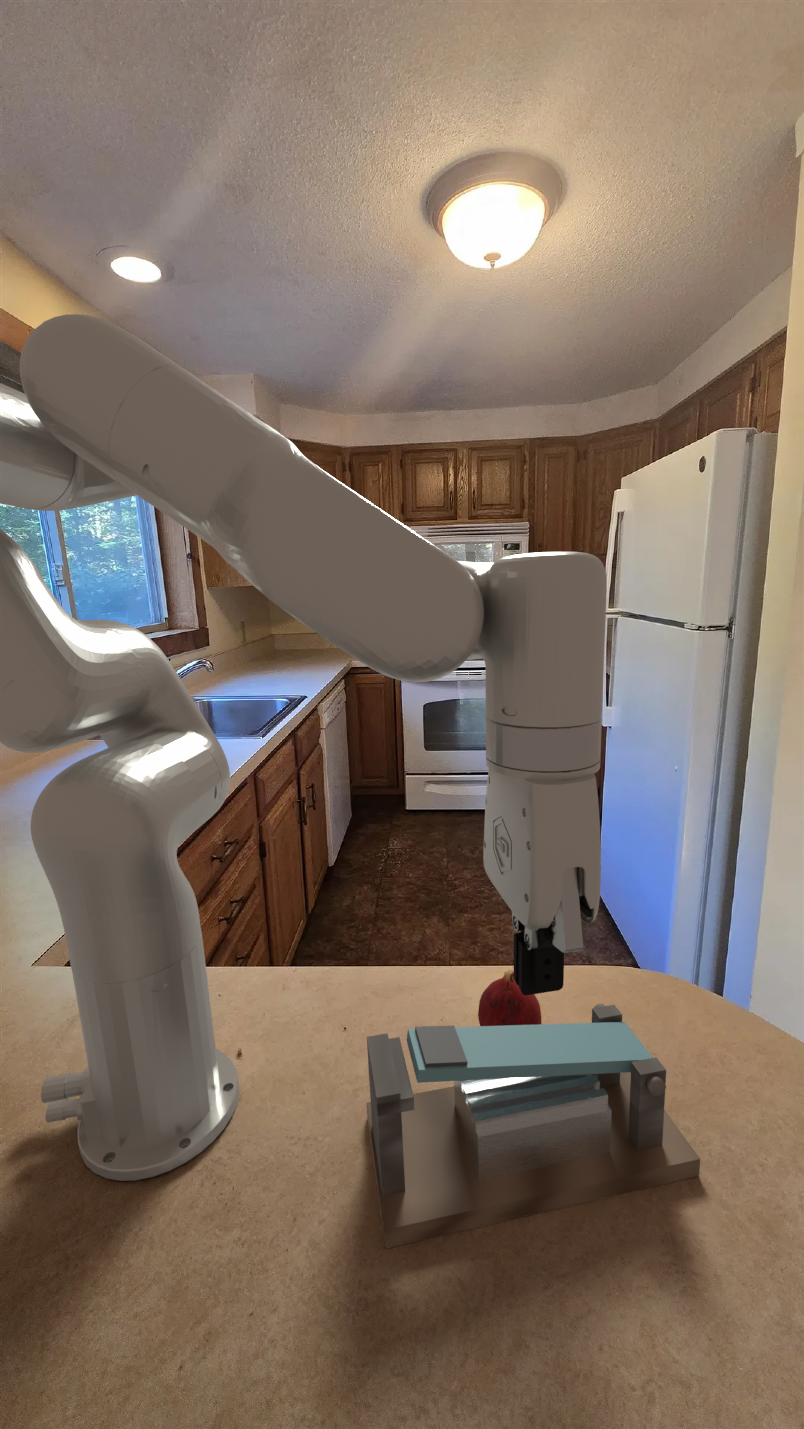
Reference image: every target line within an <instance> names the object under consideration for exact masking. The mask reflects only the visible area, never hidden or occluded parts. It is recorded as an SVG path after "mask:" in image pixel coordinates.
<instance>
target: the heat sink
mask: <svg viewBox="0 0 804 1429" xmlns="http://www.w3.org/2000/svg"><path fill="white" fill-rule="evenodd" d="M453 1085H454V1095H455V1107H456V1111H457V1114H458V1117H459V1120H460V1123H461V1126H462V1130H463V1133H464V1136H465V1139H466V1142H467V1145H468V1148H469V1152H470V1155H471V1158H472V1161H473V1164H474V1167H475V1171H476V1174H477V1177H478V1180H479V1181H482V1180H487V1179H491V1178H496V1177H501V1176H505V1175H510V1174H514V1173H519V1172H524V1171H528V1170H533V1169H537V1168H542V1167H547V1166H551V1165H556V1164H560V1163H565V1162H570V1161H574V1160H579V1159H583V1158H588V1157H593V1156H597V1155H602V1154H606V1153H610V1140H611V1108H610V1107H609V1105H608V1094H607V1092H606V1091H605V1089H604V1088H602V1089H600V1081H599V1080H598V1078H597V1076H596V1075H594V1076H592V1074H584V1075H563V1076H543V1077H523V1078H503V1079H483V1080H463V1081H453Z"/></svg>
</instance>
